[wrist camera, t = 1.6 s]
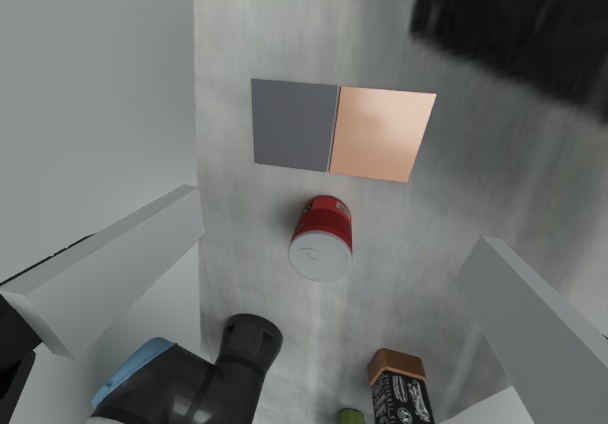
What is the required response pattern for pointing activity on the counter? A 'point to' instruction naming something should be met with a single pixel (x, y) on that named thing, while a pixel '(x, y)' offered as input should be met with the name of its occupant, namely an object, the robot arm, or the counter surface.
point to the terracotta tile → (379, 132)
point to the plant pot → (351, 417)
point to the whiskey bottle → (399, 389)
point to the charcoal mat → (292, 123)
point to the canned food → (322, 240)
